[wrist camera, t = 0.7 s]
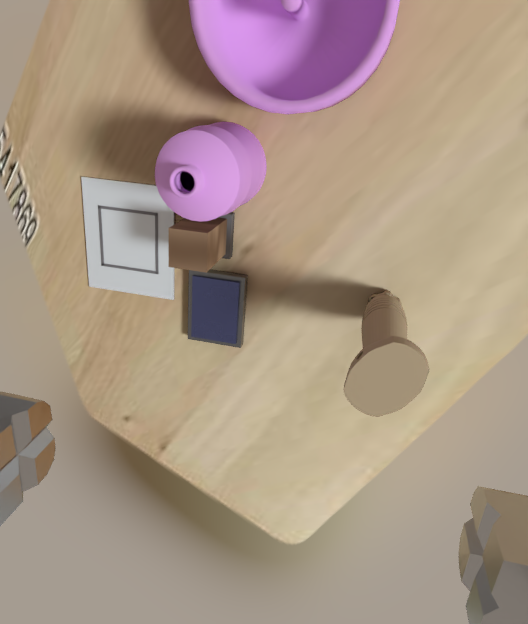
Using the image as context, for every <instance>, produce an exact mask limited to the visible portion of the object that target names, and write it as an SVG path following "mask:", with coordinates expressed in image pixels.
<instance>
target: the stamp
mask: <svg viewBox="0 0 528 624" xmlns="http://www.w3.org/2000/svg"><path fill="white" fill-rule="evenodd" d="M234 214H235V213H233V212H230V213H228V214H226V215H223V216H220V217H218V218H216V219H213V220H209V221H200V222H199V221H192V220H189V219H186V218H185V219H183V220H181V221H180V222H178V223H176V224H174V225H173V226H171V227H169V267H172V268H179V269H186V270H192V271H199V272H206V273H207V272H208V271H209V270H210V269H211V268H212V267H213V266H214V265H215V264H216V263H217V262H218V261H219V260H220V259H221V258H226V259H230V258H231V257H232V251H233V233H234Z"/></svg>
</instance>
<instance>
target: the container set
mask: <svg viewBox="0 0 528 624" xmlns="http://www.w3.org/2000/svg"><path fill="white" fill-rule="evenodd" d="M399 2H400V0H189V9H190V16H191V24H192V28H193V32H194V35H195V38H196V42H197V45H198V48H199V50H200V52H201V54H202V56H203V58H204V60H205V62H206V64H207V66H208V67H209V69H210V70H211V71H212V73H213V74H214V75H215V77H216V78H217V79H218V81H219V82H220V83H221V84H222V85H223V86H224V87H225V88H226V89H228V90H229V91H230V92H231V93H232V94H233V95H234V96H235V97H237V98H239V99H241V100H242V101H244V102H246V103H247V104H249V105H251V106H253V107H256V108H259V109H262V110H265V111H268V112H274V113H282V114H295V113H304V112H314V111H319V110H322V109H325V108H328V107H331V106H334V105H336V104H338V103H339V102H341V101H343V100H345V99H347V98H348V97H350V96H351V95H352V94H353V93H355V92H356V91H357V90H358V89H359V88H361V87H362V86H363V85H364V84H365V83H366V81H367V80H368V79H369V78H370V77H371V75H372V74H373V73H374V72H375V71H376V69H377V68H378V66H379V64H380V62H381V61H382V59H383V57H384V55H385V54H386V52H387V49H388V46H389V44H390V41H391V38H392V35H393V33H394V28H395V23H396V18H397V13H398V7H399ZM265 175H266V158H265V154H264V150H263V148H262V146H261V144H260V142H259V141H258V139H257V138H256V137H255V135H254V134H252V133H251V132H250V131H249V130H248V129H246V128H245V127H243V126H241V125H238V124H235V123H231V122H217V123H213V124H210V125H202V126H196V127H193V128H190V129H188V130H187V131H184V132H181V133H178V134H176V135H175V136H173V137H171V138H170V139H169V140H168V141H167V142H166V143H165V144H164V146H163V147H162V149H161V150H160V152H159V155H158V157H157V161H156V166H155V180H156V186H157V189H158V192H159V194H160V196H161V198H162V199H163V201H164V202H165V203H166V205H167V206H168V207H169V208H170V209H171V210H172V211H174V212H175V213H176V214H178V215H180V216H182V217H183V218H186V219H189V220H192V221H199V222H200V221H209V220H213V219H216V218H218V217H220V216H223V215H226V214H228V213H230V212H232V211H234V210H235V209H236V208H237V207H239V206H241V205H242V204H244V203H246V202H248V201H249V200H250V199H252V198H253V197H254V196H255V195H256V194H257V192H258V191H259V190H260V188H261V186H262V184H263V182H264V179H265Z"/></svg>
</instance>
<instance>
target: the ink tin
mask: <svg viewBox="0 0 528 624" xmlns="http://www.w3.org/2000/svg"><path fill="white" fill-rule="evenodd" d="M247 277H248V275H244V274H237V273H230V272H224V271H217V270H209V271H208V272H207V273H206V272H199V271H192V270H189V298H188V339H192V340H198V341H204V342H210V343H215V344H221V345H227V346H233V347H239V348H241V346H242V345H243V336H244V321H245V306H246V291H247Z"/></svg>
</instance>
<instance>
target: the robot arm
mask: <svg viewBox="0 0 528 624" xmlns="http://www.w3.org/2000/svg"><path fill="white" fill-rule="evenodd" d="M51 421H52V414H51V408H50V405H48V404H47V403H46V402H45V401H42V400H37V399H33V398H28V397H24V396H19V395H15V394H10V393H6V392H0V526H1V525H2V524H3V523H4V521H6V519H7V518H8V517H9V516H10V515H11V514H12V513H13V512H14V511H15V510H16V508H17V507H18V506H19V505H20V504H21V503H22V502H23V491H26V490H28V489H30V488H32V487H34V486H37V485H38V484H39V483H40V482H41V481H42V480H43V479H44V477H45V476H46V475H47V474H48V471H49V469H50V467H51V465H52V463H53V461H54V456H55V438H54V437H53V435H52V434H51V433H50V431H49V430H48V429H47V426H48V425H49V423H50V422H51ZM470 506H471V510H472V514H473V518H472V519H471V520H469V521H467V522H466V523H465V524H464V526H463V530H462V533H461V537H460V545H459V569H460V576H461V581H462V582H463V584H464V585H465V586H466V587H467V588H468V590H469V591H470V594H469V598H468V600H467V603H466V610H467V615H468V620H469V624H528V496H526V495H521V494H516V493H511V492H506V491H500V490H495V489H490V488H484V487H479V486H478V487H477V489H476V490H475V492H474V494H473V497H472V500H471V503H470Z"/></svg>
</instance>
